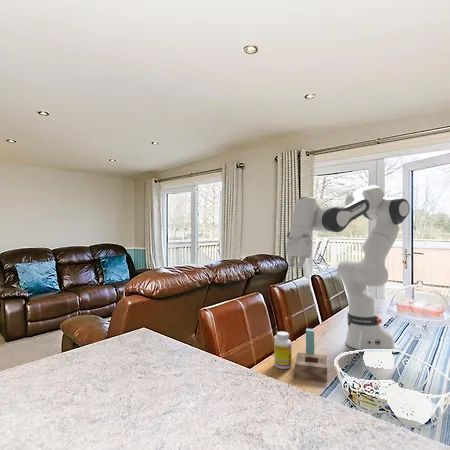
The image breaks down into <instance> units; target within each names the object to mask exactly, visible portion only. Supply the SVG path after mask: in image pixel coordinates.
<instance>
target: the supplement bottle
mask: <svg viewBox="0 0 450 450" xmlns="http://www.w3.org/2000/svg"><path fill="white" fill-rule="evenodd" d="M289 338H290V334H289V333H288V332H287V331H277V332H276V338H275V340H274V343H273V344H274V346H273V347H274V350H273V351H274V356H273V357H274V359H273V361H274V367H276V368H277V369H281V370H288V369H290V368H291V367H292V341H291V340H290V339H289Z"/></svg>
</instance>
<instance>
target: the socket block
mask: <svg viewBox="0 0 450 450" xmlns="http://www.w3.org/2000/svg"><path fill="white" fill-rule="evenodd" d="M327 358H328V355H323V354H317V353H316V354H315V353H314V354H307V353H306V352H297V354H296V358H295V363H294V364H295V365H294V370H295V371H294V375H295V379H300V380H301V379H302V380H309V381H315V382H323V383H327V382H328V359H327Z"/></svg>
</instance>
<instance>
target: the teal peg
mask: <svg viewBox="0 0 450 450" xmlns="http://www.w3.org/2000/svg"><path fill="white" fill-rule="evenodd" d="M305 353H307V354H315V329H314V328H306V329H305Z"/></svg>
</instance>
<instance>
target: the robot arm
mask: <svg viewBox="0 0 450 450" xmlns="http://www.w3.org/2000/svg"><path fill="white" fill-rule="evenodd" d="M409 203H410V202H408V200H407V199H406V198H403V197H397V196H395V197H392V196H386V197H385V191H384V190H383V189H382V188H381V187H380V186H377V185H370V186H365V187H361V188H360V189H356V190H354V191H353V192H351V193H349V194H348V195H347V196H346V197H345V201H344V204H345V206H344V207H343V206H333V207H327V208H325V207H322V206H320V205H319V203H318V202H317V200H316V198H315V197H313V196H302V197H299V198H298V199H297V200H296V201H295V204H294V207H293V214H292V223H291V225H290V230H289V231H288V232H287V234H286V239H287V240H286V247H285V254H286V256H287V257H289V260H288V261H289V266H288V267H289V268H295V265H296V264H295V260H296V258H298V263H297V267H296V268H297V269H299V270H303V267H304V264H305V262H306V259H310V258H311V256H312V250H313V240H312V236H313V231H314V232H315V231H316V232H332V233H340V232H343V231H344V230H345V229H346V228H347V227H348V226H349V224H350V223H351V222H353V221H354V220H356V219H358V218H359V217H361V216H363V217H364V218H365V219H368V220H372V221H373V220H375V221H376V225H375V226H374V228H372V230H371V232H370V233H369V235H368V236H367V238H366V240H365V241H364V243H363V244H362V246H361V247H362V249H361V250H362V251H363V253H364V257H363V259H361V260H358V259H345V260H341V261H340V262H339V263H338V264H337V268H336V272H337V276H338V277H339V278H340V279H341V280H342V282H343V284H344V287H345V291H346V293H347V301H348V311H347V317H346V319H347V321H346V322H347V332H346V333H347V334H346V337H345V341H344V343H345V345H347V346H348V347H350V348H352V349H355V350H358V351H359V350H363V349H397V350H400V347H399V344H397V343H396V342H394V337H393V335H392V333H391V331H389V330H388V329H387V328H385V327H384V326H382V325H381V323H382V322H383V321H382V319H381V318H380V317H379V316H378V315H376V314H375V298H374V295H372V294H371V292H370V291H369V289H368V287H369V288H372V287H373V288H378V287H383V286H385V284H386V283H387V282H388V278H389V272H388V269H387V268H386V266H385V261H386V258H387V255H388V254H389V252H390V250H391V249H392V246H393V245H394V243H395V242H396V239H397V237H398V234H399V231H400V227H399V225H401V224H402V223H403V222H404V220H406V219H407V218H408V215H409V213H410V210H411V209H410V204H409Z"/></svg>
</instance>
